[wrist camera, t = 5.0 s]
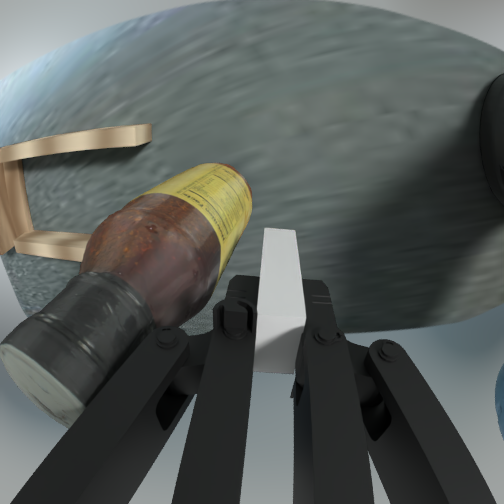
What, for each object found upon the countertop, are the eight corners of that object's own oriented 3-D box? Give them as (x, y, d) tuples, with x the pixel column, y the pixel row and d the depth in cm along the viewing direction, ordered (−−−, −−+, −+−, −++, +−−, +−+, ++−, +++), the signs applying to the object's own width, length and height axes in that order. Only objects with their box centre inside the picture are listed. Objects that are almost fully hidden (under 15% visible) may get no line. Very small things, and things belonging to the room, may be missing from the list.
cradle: (151, 123, 21) (128, 127, 18) (159, 253, 27) (142, 275, 23) (-1, 147, 22) (-24, 156, 19) (15, 239, 28) (-4, 253, 24)
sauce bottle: (198, 238, 26) (51, 433, 8) (173, 172, 23) (-43, 315, 6) (269, 222, 24) (168, 477, 6) (246, 147, 21) (14, 308, 4)
